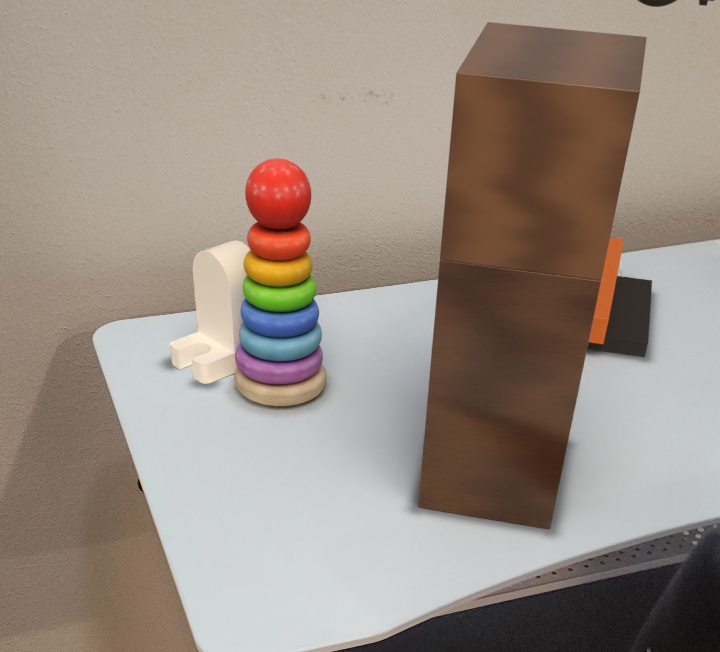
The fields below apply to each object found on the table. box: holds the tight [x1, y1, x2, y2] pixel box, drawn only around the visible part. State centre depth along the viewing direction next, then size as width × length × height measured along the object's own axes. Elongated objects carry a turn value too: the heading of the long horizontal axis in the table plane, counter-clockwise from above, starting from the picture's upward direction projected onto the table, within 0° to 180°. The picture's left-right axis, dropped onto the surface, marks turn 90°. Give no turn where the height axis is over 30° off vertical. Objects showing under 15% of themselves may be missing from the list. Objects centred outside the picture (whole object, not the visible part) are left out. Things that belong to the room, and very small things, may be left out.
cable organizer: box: [169, 239, 251, 385], centre depth 88 cm, size 5×10×10 cm, turn 134°
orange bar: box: [589, 236, 625, 344], centre depth 98 cm, size 3×19×2 cm, turn 165°
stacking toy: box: [233, 157, 327, 407], centre depth 81 cm, size 8×8×19 cm
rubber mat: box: [587, 275, 653, 358], centre depth 99 cm, size 10×14×2 cm
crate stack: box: [417, 21, 648, 530], centre depth 69 cm, size 10×12×30 cm
